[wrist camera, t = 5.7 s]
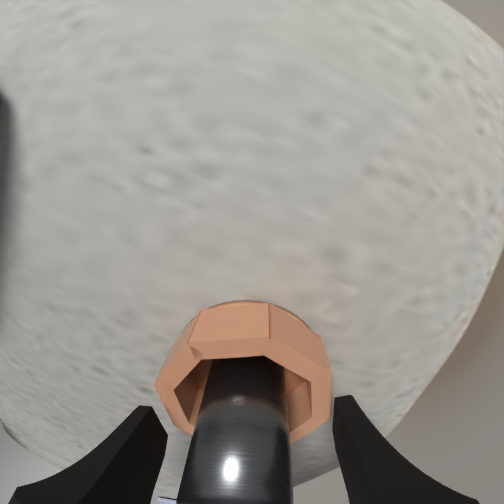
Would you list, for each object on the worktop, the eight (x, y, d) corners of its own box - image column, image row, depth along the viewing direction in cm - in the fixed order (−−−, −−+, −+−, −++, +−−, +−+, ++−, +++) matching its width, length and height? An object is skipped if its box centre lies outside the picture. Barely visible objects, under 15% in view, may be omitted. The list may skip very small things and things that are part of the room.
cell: (286, 391, 13) (294, 537, 5) (218, 395, 13) (191, 534, 6) (281, 337, 12) (294, 511, 4) (204, 342, 12) (154, 503, 5)
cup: (320, 402, 14) (328, 442, 11) (197, 410, 14) (187, 449, 12) (317, 290, 12) (332, 327, 9) (160, 307, 12) (136, 343, 10)
